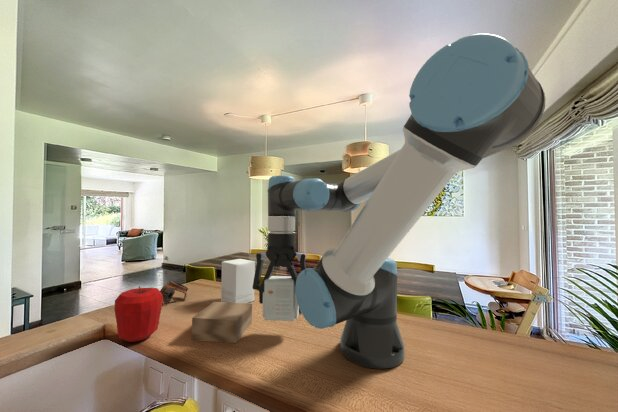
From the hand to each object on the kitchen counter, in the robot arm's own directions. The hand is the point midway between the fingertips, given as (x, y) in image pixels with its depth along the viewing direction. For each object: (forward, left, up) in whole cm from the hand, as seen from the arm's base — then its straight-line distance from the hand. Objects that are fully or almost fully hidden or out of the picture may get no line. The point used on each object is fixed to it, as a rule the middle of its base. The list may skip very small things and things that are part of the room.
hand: (280, 315), depth 70 cm
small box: (0, 0, -1) cm, 1 cm away
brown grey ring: (+45, -19, -6) cm, 50 cm away
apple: (+36, +7, -5) cm, 37 cm away
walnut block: (+16, 0, -6) cm, 17 cm away
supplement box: (+21, -23, -5) cm, 32 cm away
